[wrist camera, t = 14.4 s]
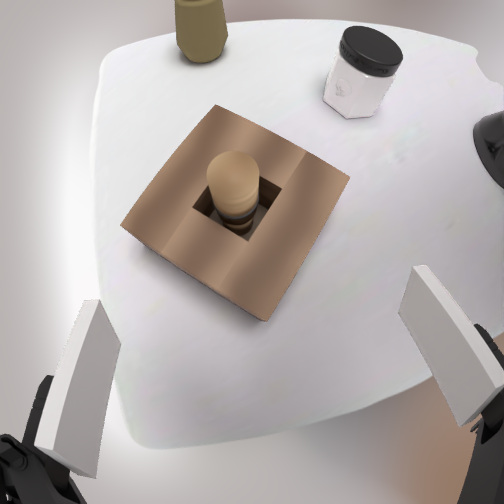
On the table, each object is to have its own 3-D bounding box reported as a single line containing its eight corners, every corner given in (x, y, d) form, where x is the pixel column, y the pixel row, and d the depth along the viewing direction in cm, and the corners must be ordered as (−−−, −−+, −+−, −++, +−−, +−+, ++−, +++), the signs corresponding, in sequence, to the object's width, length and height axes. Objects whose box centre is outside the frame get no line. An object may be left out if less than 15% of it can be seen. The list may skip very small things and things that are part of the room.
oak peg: (263, 215, 34) (270, 165, 23) (244, 246, 34) (241, 208, 22) (232, 197, 35) (225, 141, 23) (212, 227, 34) (194, 182, 22)
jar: (310, 92, 40) (327, 33, 28) (340, 72, 41) (361, 18, 30) (357, 130, 39) (388, 75, 27) (383, 105, 40) (415, 55, 29)
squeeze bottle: (170, 63, 41) (150, -26, 23) (193, 36, 42) (182, -47, 25) (216, 72, 40) (209, -25, 23) (236, 43, 42) (236, -45, 24)
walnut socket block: (329, 205, 36) (350, 177, 28) (260, 320, 33) (267, 321, 25) (219, 142, 37) (215, 104, 30) (144, 244, 34) (119, 225, 27)
